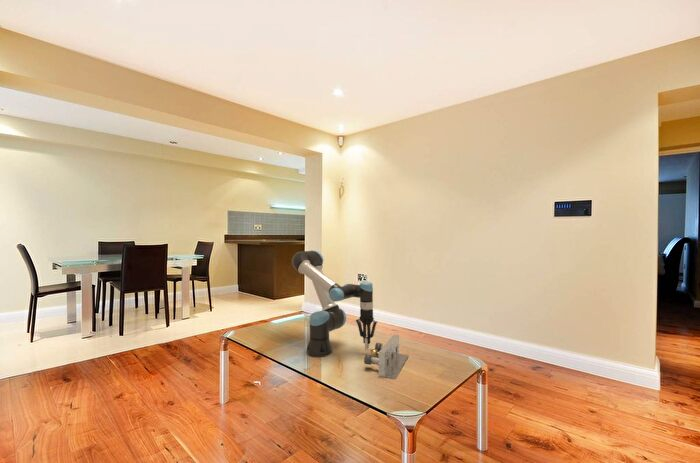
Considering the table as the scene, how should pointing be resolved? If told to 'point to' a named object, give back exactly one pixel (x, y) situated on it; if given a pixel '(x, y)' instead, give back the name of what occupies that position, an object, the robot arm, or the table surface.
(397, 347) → the panel
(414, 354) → the table surface
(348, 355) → the table surface
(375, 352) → the silver and brass cylinder
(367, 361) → the knob near
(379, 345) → the knob far
